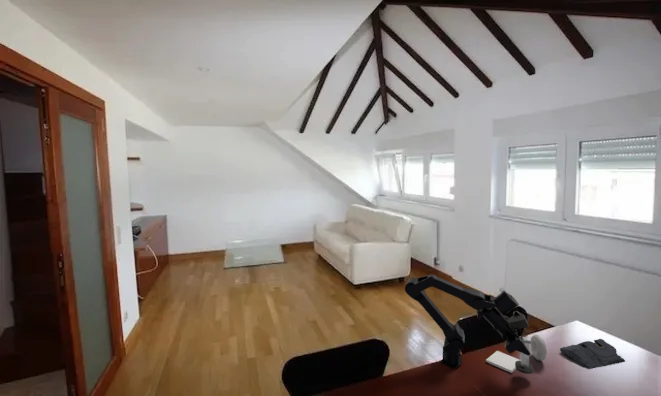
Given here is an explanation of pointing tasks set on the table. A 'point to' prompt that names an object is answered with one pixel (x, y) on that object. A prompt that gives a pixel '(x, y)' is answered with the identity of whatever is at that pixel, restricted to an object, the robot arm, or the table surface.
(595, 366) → the folded grey shirt
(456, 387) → the table surface
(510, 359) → the ceramic tile
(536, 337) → the donut
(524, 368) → the grey channel block
